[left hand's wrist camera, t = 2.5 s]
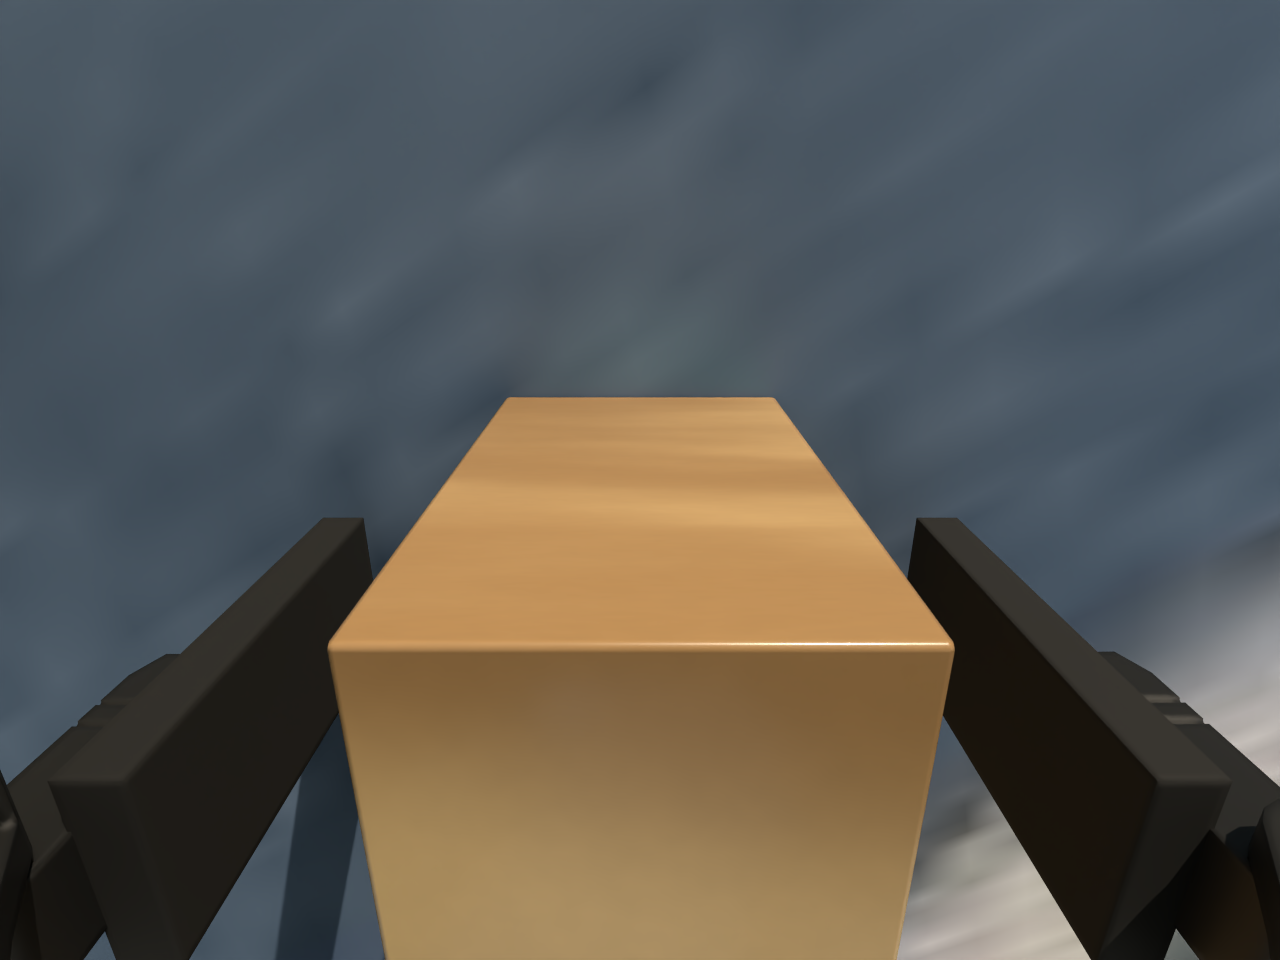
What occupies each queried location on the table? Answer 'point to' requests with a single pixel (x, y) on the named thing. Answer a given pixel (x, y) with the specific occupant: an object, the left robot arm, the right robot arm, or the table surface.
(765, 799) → the pine beam
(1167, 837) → the left robot arm
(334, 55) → the table surface
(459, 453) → the table surface
